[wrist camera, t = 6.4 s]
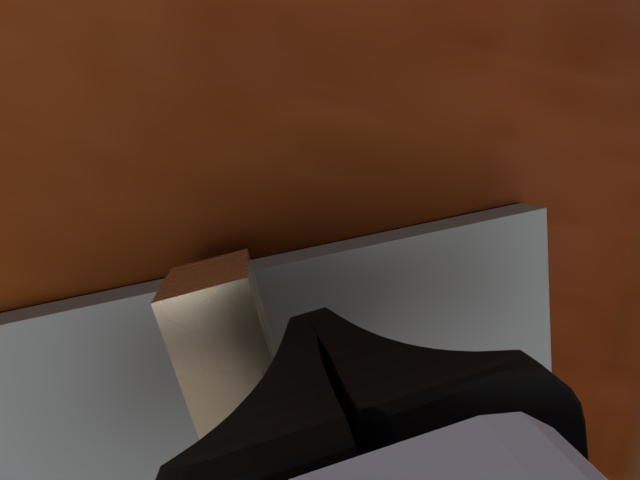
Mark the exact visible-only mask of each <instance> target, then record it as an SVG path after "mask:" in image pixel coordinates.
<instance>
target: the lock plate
mask: <svg viewBox="0 0 640 480" xmlns="http://www.w3.org/2000/svg"><path fill="white" fill-rule="evenodd" d="M251 264H252V267H253V271H254V274H255V278H256V281H257V285H258V289H259V292H260V296H261V299H262V303H263V306H264V310H265V314H266V317H267V321H268V324H269V328H270V331H271V335H272V339H273V342H274V346H275V349H276V352H277V350H278V348H279V346H280V343H281V341H282V339H283V336H284V333H285V331H286V327H287V323H288V321H289V319H290V318H291V317H293V316H297V315H300V314H304V313H307V312H310V311H314V310H317V309H320V308H324V307H326V308H328V309H329V310H331V311H333V312H334V313H336V314H337V315H339V316H341V317H342V318H344V319H346V320H347V321H349V322H351V323H353V324H355V325H357V326H359V327H361V328H363V329H365V330H367V331H370V332H372V333H375V334H377V335H380V336H382V337H385V338H388V339H392V340H395V341H399V342H402V343H406V344H411V345H415V346H421V347H428V348H434V349H443V350H455V351H498V350H521V351H523V352H524V353H526V354H528V355H529V356H530V357H532V358H533V359H535V360H536V361H538V362H539V363H540V364H542V365H543V366H544V367H545V368H547V369H548V370H549V371H550V372H552V371H551V339H550V306H549V274H548V242H547V210H546V208H545V207H541V206H537V205H532V204H528V203H524V202H523V203H518V204H513V205H509V206H504V207H499V208H494V209H490V210H485V211H480V212H476V213H471V214H466V215H461V216H457V217H452V218H447V219H442V220H438V221H433V222H428V223H424V224H419V225H414V226H409V227H405V228H400V229H395V230H391V231H386V232H381V233H376V234H372V235H367V236H362V237H357V238H353V239H348V240H343V241H339V242H334V243H329V244H324V245H320V246H315V247H310V248H306V249H301V250H296V251H291V252H287V253H282V254H277V255H272V256H268V257H263V258H258V259H254V260H251ZM164 279H165V278H164ZM164 279H159V280H154V281H150V282H145V283H140V284H135V285H131V286H126V287H121V288H117V289H112V290H107V291H102V292H98V293H93V294H88V295H84V296H79V297H74V298H69V299H65V300H60V301H55V302H50V303H46V304H41V305H36V306H32V307H27V308H22V309H17V310H13V311H8V312H3V313H0V480H155V479H156V477H157V474H158V471H159V468H160V466H161V465H163V464H165V463H166V462H168V461H169V460H171V459H172V458H174V457H175V456H177V455H178V454H180V453H181V452H183V451H184V450H186V449H187V448H189V447H190V446H191V445H193V444H194V443H196V442H197V441H199V438H198V435H197V432H196V429H195V426H194V424H193V421H192V418H191V415H190V412H189V410H188V407H187V404H186V401H185V399H184V396H183V393H182V390H181V387H180V385H179V382H178V379H177V376H176V373H175V371H174V368H173V365H172V362H171V359H170V357H169V354H168V351H167V348H166V345H165V343H164V340H163V337H162V334H161V331H160V329H159V326H158V323H157V320H156V317H155V315H154V312H153V309H152V306H151V302H152V300H153V298H154V296H155V295H156V293H157V291H158V290H159V288H160V286H161V285H162V283H163V281H164Z"/></svg>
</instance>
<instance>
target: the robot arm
mask: <svg viewBox="0 0 640 480" xmlns="http://www.w3.org/2000/svg"><path fill="white" fill-rule="evenodd" d="M155 480H608V479H607V478H606V477H605V476H603V475H602V474H601V473H600V472H599V471H598V470H597V469H596V468H595V467H594V466H593V465H592V464H591V463H590V462H589V461H588V449H587V437H586V425H585V418H584V414H583V410H582V406H581V403H580V401H579V400H578V398H577V397H576V395H575V393H574V392H573V390H572V389H571V388H570V387H569V386H568V385H566V384H565V383H564V382H563V381H561V380H560V379H559V378H558V377H556V376H555V375H554V374H553V373H552V372H550V371H549V370H548V369H547V368H545V367H544V366H543V365H542V364H540V363H539V362H538V361H536V360H535V359H533V358H532V357H530V356H529V355H528V354H526V353H524V352H523V351H521V350H498V351H455V350H443V349H434V348H428V347H421V346H415V345H411V344H406V343H402V342H399V341H395V340H392V339H388V338H385V337H382V336H380V335H377V334H375V333H372V332H370V331H367V330H365V329H363V328H361V327H359V326H357V325H355V324H353V323H351V322H349V321H347V320H346V319H344V318H342V317H341V316H339V315H337V314H336V313H334V312H333V311H331V310H329V309H328V308H326V307H324V308H320V309H317V310H314V311H310V312H307V313H304V314H300V315H297V316H293V317H291V318H290V319H289V321H288V323H287V327H286V331H285V333H284V336H283V339H282V341H281V343H280V346H279V348H278V350H277V352H276V354H275V356H274V358H273V360H272V362H271V364H270V366H269V367H268V369H267V371H266V373H265V374H264V376H263V377H262V379H261V380H260V381H259V383H258V384H257V385H256V387H255V388H254V389H253V390H252V392H251V393H250V394H249V395H248V396H247V397H246V398H245V399H244V400H243V401H242V402H241V403H240V405H239V406H238V407H237V408H236V409H235V410H234V411H233V412H232V413H231V414H230V415H229V416H228V417H227V418H225V419H224V420H223V421H222V422H221V423H220V424H219V425H218V426H216V427H215V428H214V429H213V430H211V431H210V432H209V433H208V434H206V435H205V436H204V437H203V438H201V439H200V440H199V441H197V442H196V443H194V444H193V445H191V446H190V447H189V448H187V449H186V450H184V451H183V452H181V453H180V454H178V455H177V456H175V457H174V458H172V459H171V460H169V461H168V462H166V463H165V464H163V465H161V466H160V468H159V471H158V474H157V477H156V479H155Z"/></svg>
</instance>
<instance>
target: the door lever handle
mask: <svg viewBox="0 0 640 480" xmlns="http://www.w3.org/2000/svg"><path fill="white" fill-rule="evenodd" d="M151 306H152V309H153V312H154V315H155V317H156V320H157V323H158V326H159V329H160V331H161V334H162V337H163V340H164V343H165V345H166V348H167V351H168V354H169V357H170V359H171V362H172V365H173V368H174V371H175V373H176V376H177V379H178V382H179V385H180V387H181V390H182V393H183V396H184V399H185V401H186V404H187V407H188V410H189V412H190V415H191V418H192V421H193V424H194V426H195V429H196V432H197V435H198V438H199V440H200V439H201V438H203V437H204V436H205V435H206V434H208V433H209V432H210V431H211V430H213V429H214V428H215V427H216V426H218V425H219V424H220V423H221V422H222V421H223V420H224V419H225V418H227V417H228V416H229V415H230V414H231V413H232V412H233V411H234V410H235V409H236V408H237V407H238V406H239V405H240V403H241V402H242V401H243V400H244V399H245V398H246V397H247V396H248V395H249V394H250V393H251V392H252V390H253V389H254V388H255V387H256V385H257V384H258V383H259V381H260V380H261V379H262V377H263V376H264V374H265V373H266V371H267V369H268V367H269V366H270V364H271V362H272V360H273V358H274V356H275V354H276V349H275V346H274V342H273V339H272V335H271V331H270V328H269V324H268V321H267V317H266V314H265V310H264V306H263V303H262V299H261V296H260V292H259V289H258V285H257V281H256V278H255V274H254V271H253V267H252V264H251V260H250V256H249V253H248V249H244V250H240V251H236V252H232V253H228V254H224V255H221V256H217V257H213V258H209V259H205V260H201V261H197V262H193V263H189V264H186V265H182V266H178V267H174V268H171V269H170V271H169V273H168V274H167V276H166V278H165V279H164V281H163V283H162V285H161V286H160V288H159V290H158V291H157V293H156V295H155V296H154V298H153V300H152V302H151Z"/></svg>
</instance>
